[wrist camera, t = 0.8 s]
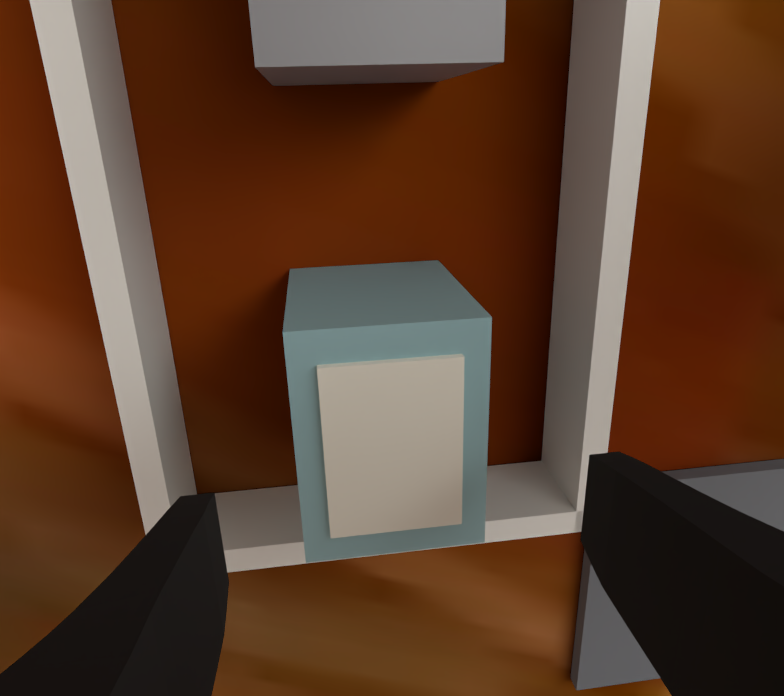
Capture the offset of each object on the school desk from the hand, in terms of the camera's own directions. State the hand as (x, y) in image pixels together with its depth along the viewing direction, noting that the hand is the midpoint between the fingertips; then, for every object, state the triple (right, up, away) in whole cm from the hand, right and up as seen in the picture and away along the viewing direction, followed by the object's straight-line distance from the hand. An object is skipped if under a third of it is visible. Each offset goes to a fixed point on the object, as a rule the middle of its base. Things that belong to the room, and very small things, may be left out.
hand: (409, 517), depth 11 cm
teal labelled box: (-1, +3, +8) cm, 8 cm away
